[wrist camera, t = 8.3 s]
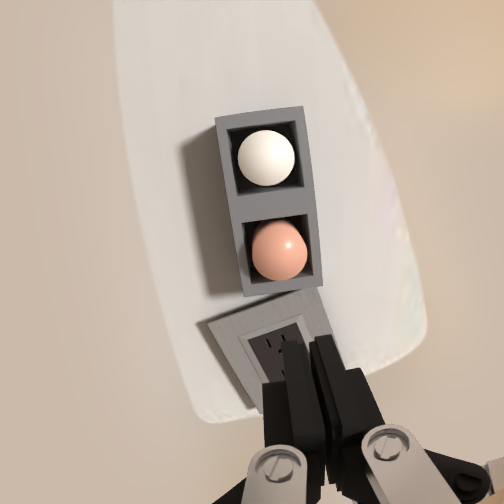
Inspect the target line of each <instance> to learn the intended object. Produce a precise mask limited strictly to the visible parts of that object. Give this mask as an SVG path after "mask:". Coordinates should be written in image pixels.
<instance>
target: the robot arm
mask: <svg viewBox="0 0 504 504" xmlns="http://www.w3.org/2000/svg"><path fill="white" fill-rule="evenodd" d="M281 350H282V358H283V366H284V374H285V380H284V381H277V382H269V383H262V397H263V418H264V440H265V448H264V449H262V450H260V451H259V452H257V453H256V454H255V455H254V457H253V458H252V459H251V461H250V464H249V467H248V472H247V477H246V478H245V479H244V480H242V481H241V482H240V483H238V484H237V485H236V486H235V487H233V488H232V489H231V490H230V491H228V492H227V493H226V494H224V495H223V496H222V497H220V498H219V499H218V500H216V501H215V502H214V503H212V504H316V503H317V502H318V501H319V500H320V498H321V486H324V480H325V465H326V471H327V476H328V481H329V484H335V483H336V487H337V491H342V495H344V496H346V497H347V498H350V499H352V502H353V504H504V457H503V458H499V459H496V460H492V461H488V462H487V463H486V465H483V466H479V465H477V464H474V463H470V462H466V461H463V460H459V459H455V458H452V457H449V456H445V455H442V454H439V453H435V452H432V451H429V450H426V449H423V448H422V447H421V445H420V444H419V443H418V441H417V440H416V438H415V437H414V435H413V434H412V433H411V432H410V431H409V430H408V429H406V428H404V427H402V426H399V425H394V424H385V422H384V420H383V418H382V415H381V413H380V411H379V408H378V406H377V404H376V401H375V399H374V397H373V394H372V392H371V390H370V387H369V385H368V383H367V381H366V378H365V376H364V374H363V372H362V370H361V368H354V369H349V370H345V367H344V365H343V362H342V360H341V357H340V354H339V352H338V349H337V347H336V344H335V342H334V339H333V337H332V335H331V334H327V335H322V336H316V337H314V341H312V342H309V355H310V364H309V360H308V356H307V352H306V348H305V345H304V343H299V344H298V342H297V339H296V340H290V341H283V342H281Z"/></svg>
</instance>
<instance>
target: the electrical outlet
mask: <svg viewBox="0 0 504 504" xmlns="http://www.w3.org/2000/svg"><path fill="white" fill-rule="evenodd" d="M207 325H208V327H209V329H210V331H211V332H212V334H213V336H214V338H215V339H216V341H217V343H218V345H219V346H220V348H221V350H222V352H223V353H224V355H225V357H226V358H227V360H228V362H229V364H230V365H231V367H232V369H233V370H234V372H235V374H236V375H237V377H238V379H239V380H240V382H241V384H242V385H243V387H244V389H245V390H246V392H247V394H248V395H249V397H250V398H251V400H252V402H253V403H254V405H255V407H256V408H257V410H258V411H259V413H260V414H263V397H262V383H269V382H277V381H284V380H285V374H284V366H283V358H282V350H281V342H283V341H290V340H296V339H297V342H298V344H299V343H304V345H305V348H306V352H307V356H308V360H309V364H310V355H309V342H312V341H314V337H316V336H322V335H327V334H331V335H332V337H333V339H334V342H335V344H336V347H337V349H338V346H337V343H336V340H335V337H334V334H333V331H332V329H331V326H330V323H329V320H328V317H327V314H326V312H325V309H324V306H323V303H322V300H321V298H320V295H319V292H318V289H317V287H311V288H305V289H298V290H295V291H292V292H289V293H287V294H284V295H282V296H279V297H276V298H274V299H271V300H269V301H266V302H263V303H261V304H258V305H255V306H253V307H250V308H247V309H244V310H242V311H239V312H236V313H233V314H231V315H228V316H225V317H222V318H220V319H217V320H214V321H211V322H208V323H207ZM338 352H339V349H338ZM339 354H340V352H339ZM340 357H341V355H340ZM341 360H342V358H341ZM342 362H343V361H342ZM343 365H344V364H343Z"/></svg>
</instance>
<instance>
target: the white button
mask: <svg viewBox="0 0 504 504" xmlns="http://www.w3.org/2000/svg"><path fill="white" fill-rule="evenodd" d="M238 163H239V167H240V169H241V171H242V173H243V174H244V176H245V177H246V178H247V179H249V180H250V181H251V182H253V183H255V184H258V185H263V186H270V185H275V184H277V183H279V182H281V181H283V180H284V179H285V178H286V177H287V176H288V175H289V174H290V172H291V170H292V168H293V165H294V151H293V148H292V146H291V144H290V143H289V141H288V140H287V139H286V138H285V137H284V136H282V135H281V134H279V133H277V132H274V131H269V130H263V131H258V132H255V133H253V134H251V135H250V136H248V137H247V138H246V139H245V140H244V141H243V143H242V144H241V146H240V149H239V153H238Z"/></svg>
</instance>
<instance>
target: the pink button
mask: <svg viewBox="0 0 504 504" xmlns="http://www.w3.org/2000/svg"><path fill="white" fill-rule="evenodd" d="M252 257H253V263H254V265H255V267H256V269H257V270H258V272H259V273H260V274H261V275H263V276H264V277H266V278H268V279H271V280H275V281H283V280H288V279H290V278H293V277H294V276H296V275H297V274H298V273H299V272H300V271H301V270H302V269H303V267H304V265H305V263H306V260H307V248H306V245H305V243H304V241H303V239H302V237H301V235H300V234H299V232H298V230H297V228H296V227H295V225H294V224H293V223H292V222H290V221H289V220H287V219H285V218H281V217H280V218H273V219H266V220H264V221H262V222H261V223H260V224H259V225H258V226H257V227H256V229H255V230H254V233H253V237H252Z"/></svg>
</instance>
